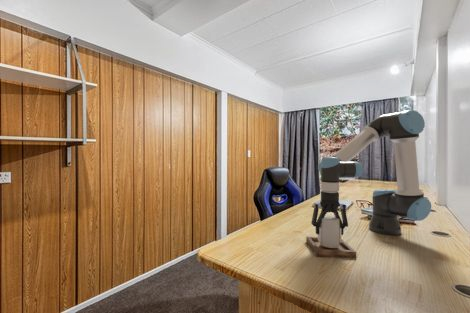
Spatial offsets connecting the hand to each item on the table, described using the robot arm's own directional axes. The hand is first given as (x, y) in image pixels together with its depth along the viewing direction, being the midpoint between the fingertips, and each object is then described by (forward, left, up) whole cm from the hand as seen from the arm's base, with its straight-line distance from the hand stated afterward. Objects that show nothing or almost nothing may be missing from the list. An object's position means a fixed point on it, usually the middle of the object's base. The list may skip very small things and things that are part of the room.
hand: (329, 241), depth 100 cm
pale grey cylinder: (0, 0, -1) cm, 1 cm away
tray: (0, 0, -3) cm, 3 cm away
